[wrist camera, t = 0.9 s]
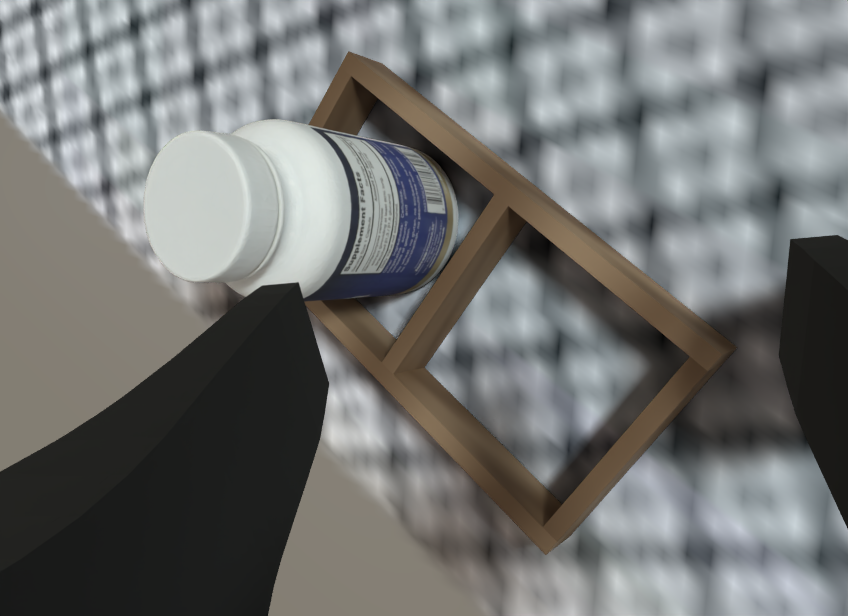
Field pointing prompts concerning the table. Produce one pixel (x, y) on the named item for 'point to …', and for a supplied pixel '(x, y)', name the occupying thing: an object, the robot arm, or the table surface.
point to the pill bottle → (299, 211)
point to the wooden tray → (459, 284)
